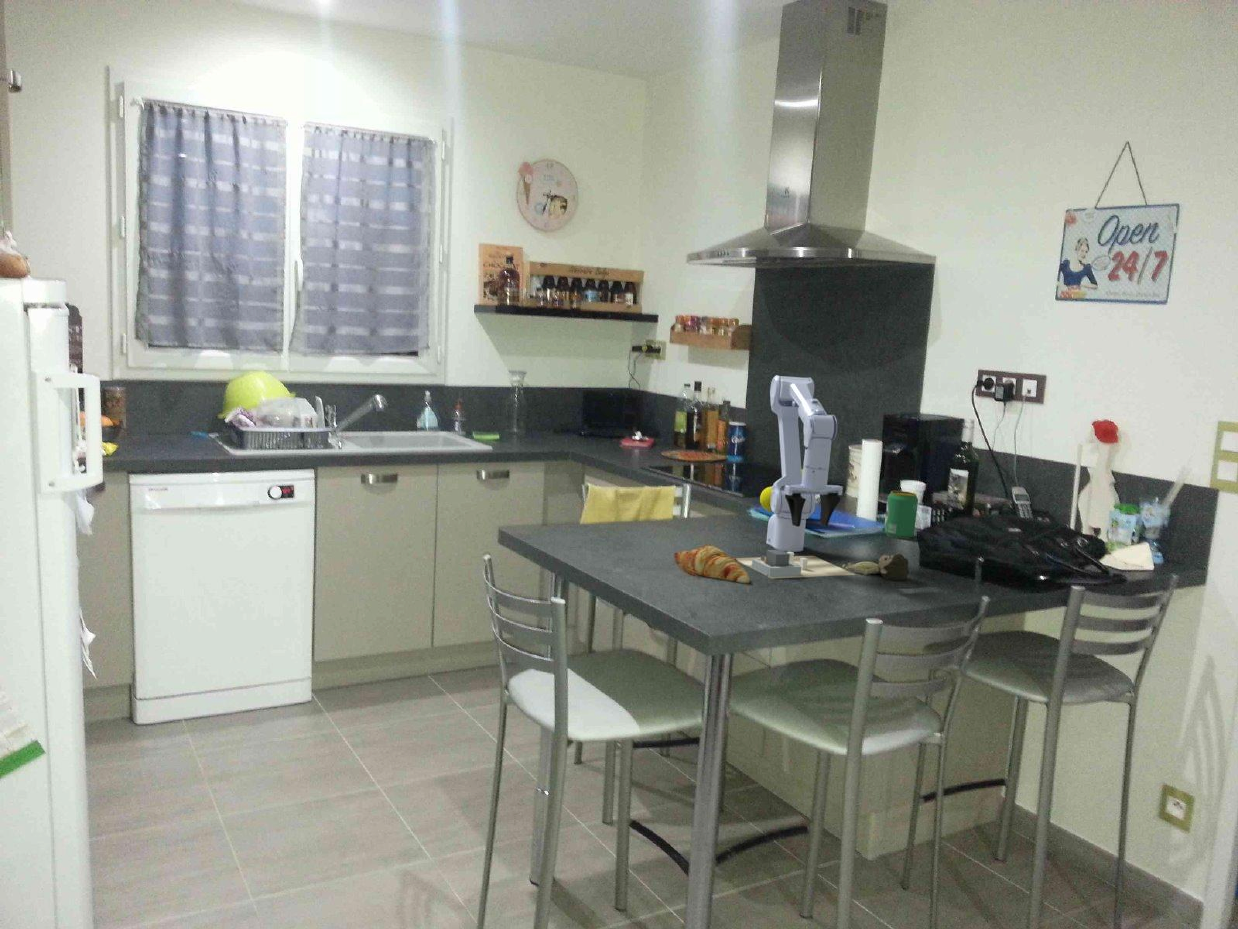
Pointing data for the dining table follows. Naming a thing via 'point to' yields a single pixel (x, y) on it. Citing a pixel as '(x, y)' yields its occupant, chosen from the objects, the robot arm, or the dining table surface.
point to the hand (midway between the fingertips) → (809, 525)
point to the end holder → (776, 569)
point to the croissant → (711, 564)
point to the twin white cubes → (802, 561)
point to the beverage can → (901, 514)
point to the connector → (776, 558)
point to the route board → (814, 567)
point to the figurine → (884, 567)
